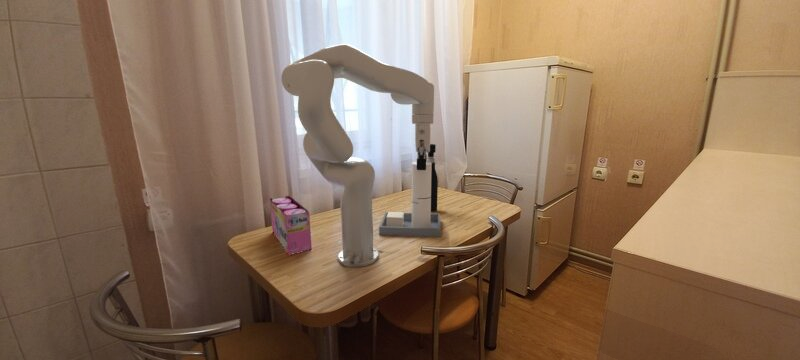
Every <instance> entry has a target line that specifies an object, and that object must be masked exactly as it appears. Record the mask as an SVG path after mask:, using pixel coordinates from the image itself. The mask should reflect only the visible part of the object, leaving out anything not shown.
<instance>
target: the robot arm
mask: <svg viewBox="0 0 800 360" xmlns="http://www.w3.org/2000/svg"><path fill="white" fill-rule="evenodd" d="M280 79H281V84H282V87H283V88H284V90H285V91H286V92H287V93H288V94H290V95H292V96H294V97H297V99H298V100H297V113H298V118H299V119H298V120H299V121H300V123H301V125H302V128H303V129H304V130H305V132H306V133H305V135H304V137H303V140H302V146H303V150H304V152H305V155H306V156H307V158H308V159H309V161H310V162H311V163H312V164H313V166H314V167H315V168H316V169H317V171H318V172H319V174H321V176H322V177H323V178H324V179H325V181H327V182H328V183H330V184H332V185H334V186H337V187H339V188H343V192H342V195H341V198H340V208H339V209H340V220H341V222H340V224H341V238H342V239H341V241H342V245H341V246H342V250H341V251H340V252H338V254H337V259H338V262H339V263H340V264H341V265H343V266H345V267H354V268H355V267H356V268H358V267H365V266H369V265H372V264H373V263H375V262H376V261H377V260H378V259H379V257H380V256H379V251H378V250H377V249H376V248H375V247H374V224H373V223H374V219H373V218H374V217H373V193H374V192H373V191H374V185H375V180H376V179H375V178H376V173H375V168H374V166H373V165H372V164H371V163H370V162H369V161H367V160H365V159H364V158H360V157H354V156H353V153H354V146H353V145H354V144H353V142H352V140H351V138H350V136H349V135H348V133H347V131H346V130H345V129H344V128H343V126H342V124H341V123H340V121H339V120H338V118H337V116H336V115H335V113H334V111H333V109H332V105H331V103H332V102H331V101H332V99H331V98H332V92H333V89H334V86H335V85H334V84H335V79H345V80H347V81H350V82H351V83H354V84H356V85H359V86H361V87H362V88H363V87H364V88H365V89H367V90H369V91H372V92H377V93H383V94H390V97H391V99H392V101H393V102H395V103H396V104H398V105H403V106H405V105H407V106H408V105H411V124H414V125H415V126H414V127H415V128H414V130H415V131H414V136H415V137H414V138H415V152H416V153H417V156H416V157H417V158H416V162H417V170H426V162H427V158H428V153H429V152H430V144H431V125H432V124H434V111H435V108H434V107H435V106H434V105H435V85H434V83H431V82H429V81H428V80H427V79H425V78H424V77H423V76H421V75H419V74H418V73H416V72H413V71H411V70H408V69H404V68H400V67H398V66H394V65H391V64H387V63H385V62H384V63H383V62H382V61H380V60H378V59H376V58H374V57H373V56H371V55H369V54H368V53H365V52H364V51H362V50H360V49H359V48H357V47H355V46H353V45H351V44H347V43H340V44H336V45H331V46H327V47H324V48H322V49H321V48H320V49H319V50H317V51H315V52H313V53H310V54H308V55H306V56H304V57H303V58H300V59H297V60H296V61H293V62H292V63H289V64H288V65H286V67H284V69H283V70H282V72H281V78H280ZM426 151H428V153H427V152H426Z"/></svg>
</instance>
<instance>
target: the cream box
mask: <svg viewBox="0 0 800 360" xmlns="http://www.w3.org/2000/svg"><path fill="white" fill-rule="evenodd" d="M387 212H388V214H387V217H386V221H387V226H389V227H403V226H404V213H405V211H387Z"/></svg>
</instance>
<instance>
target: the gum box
mask: <svg viewBox="0 0 800 360" xmlns="http://www.w3.org/2000/svg"><path fill="white" fill-rule="evenodd" d="M269 209H270V219H271V229H272V230H273V231H272V230H271V231H272V233H273V232H274V234H275V235H276V236H277V238H278V240H279V241H280V242H279V241H278V240H277V241H278V242H279V244H280V243H281V244H282V245H281V244H280V245H281V247H282V246H283V247H284V248H285V250H286V251H287V252H286V251H285V250H284V251H285V252H286V254H287V253H288V254H292V253H297V252H301V251H305V250H308V251H310V250H309V249H312V234H311V233H312V232H311V218H310V212H309V210H308V209H307V208H305V207H304V206H303V205H301V204H300V203H299V202H298V201H297V200H295V199H294V198H293V197H292V196H291V195H286V196H285V197H279V198H272V197H270V198H269ZM274 234H273V235H274ZM275 235H274V236H275ZM277 238H276V239H277ZM283 247H282V248H283ZM284 248H283V249H284ZM305 252H306V251H305ZM301 253H302V252H301ZM288 254H287V255H288ZM297 254H298V253H297Z"/></svg>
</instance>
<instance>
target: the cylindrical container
mask: <svg viewBox="0 0 800 360" xmlns="http://www.w3.org/2000/svg"><path fill="white" fill-rule="evenodd" d="M431 168H432V163H431V162H427V161H426V170H417V161H413V162H411V213H412V227H420V228H430V224H431V214H432V212H431Z"/></svg>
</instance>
